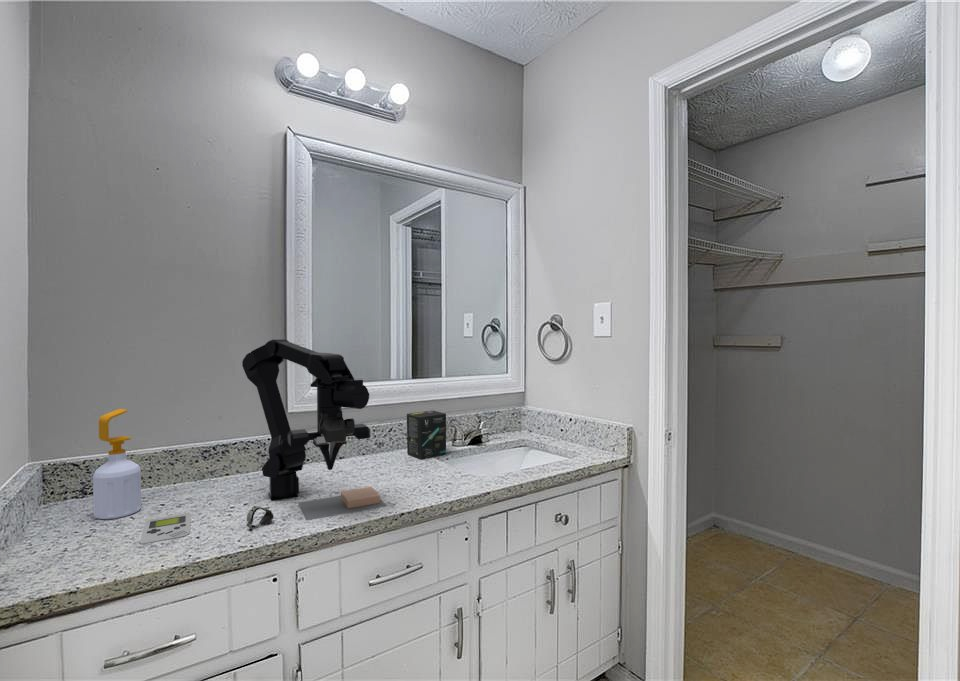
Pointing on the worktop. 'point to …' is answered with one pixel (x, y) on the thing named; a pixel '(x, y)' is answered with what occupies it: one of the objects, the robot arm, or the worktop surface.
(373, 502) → the tile
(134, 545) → the worktop surface
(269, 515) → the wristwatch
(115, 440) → the soap bottle
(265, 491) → the worktop surface
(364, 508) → the mat
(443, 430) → the tampon box
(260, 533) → the worktop surface
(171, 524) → the handheld gaming device
